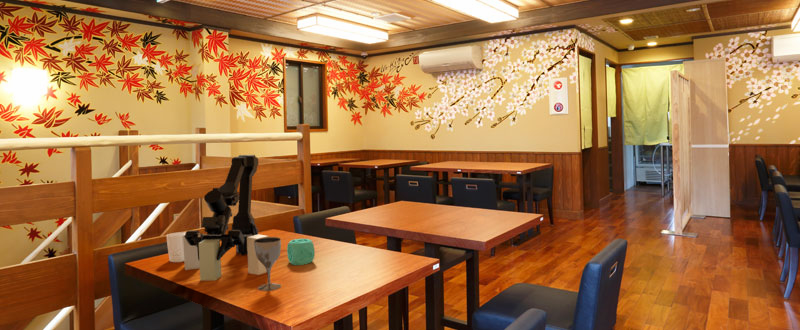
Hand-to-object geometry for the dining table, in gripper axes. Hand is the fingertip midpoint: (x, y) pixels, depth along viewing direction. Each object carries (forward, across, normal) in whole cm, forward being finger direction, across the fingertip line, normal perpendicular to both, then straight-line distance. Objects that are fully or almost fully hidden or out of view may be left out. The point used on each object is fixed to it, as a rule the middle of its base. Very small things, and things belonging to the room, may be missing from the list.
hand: (208, 259), depth 165 cm
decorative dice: (-10, +26, +19) cm, 34 cm away
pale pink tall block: (-6, -12, +15) cm, 20 cm away
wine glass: (+11, +23, -1) cm, 25 cm away
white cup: (-13, -22, +22) cm, 34 cm away
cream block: (-1, +14, +10) cm, 17 cm away
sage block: (+4, 0, +6) cm, 7 cm away
